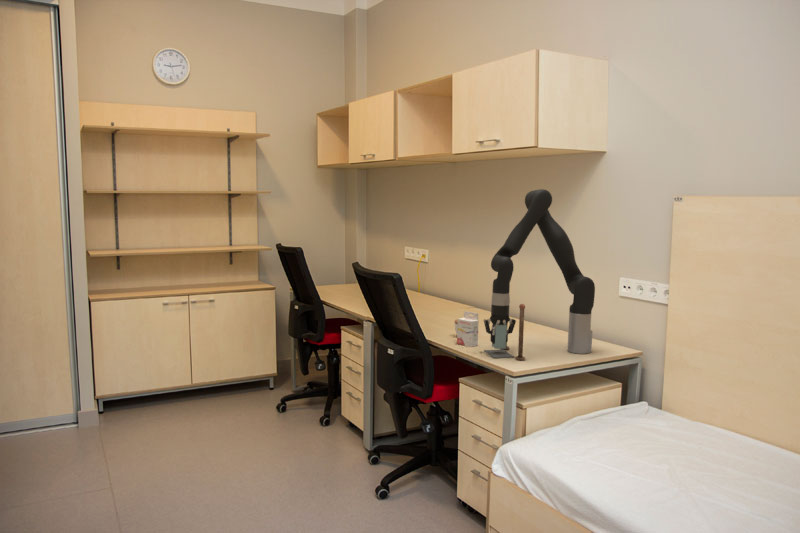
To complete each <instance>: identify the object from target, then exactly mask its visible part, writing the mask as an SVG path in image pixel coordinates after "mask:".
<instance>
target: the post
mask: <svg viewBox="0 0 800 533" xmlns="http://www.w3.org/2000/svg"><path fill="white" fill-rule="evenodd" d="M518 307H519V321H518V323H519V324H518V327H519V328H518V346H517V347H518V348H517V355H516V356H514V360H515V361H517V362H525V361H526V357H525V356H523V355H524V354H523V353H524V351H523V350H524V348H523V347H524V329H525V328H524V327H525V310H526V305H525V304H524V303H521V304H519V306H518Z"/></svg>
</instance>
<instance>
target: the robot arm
mask: <svg viewBox="0 0 800 533" xmlns="http://www.w3.org/2000/svg"><path fill="white" fill-rule="evenodd" d="M552 203H553V195H552V194H551V193H550V191H549V190H547V189H543V188H540V189H534V190H530V191H529V192H527V194H526V195H525V196H524V204H525V207H526V209H527V211H526V213H525V214H524V216H522V218H521V220H520V221H518V223H517V224H516V225H515V226H514V228H512V230H511V231H510V233H509V235H508V236H507V238H506V240H505V242H504V244H503V245H502V246H501V247H500V248H499V249H498V250H497V252H496V253H495V254H494V255H493V256H492V259H491V262H490V267H491V269H492V270H493V271H494V272H496V273H497V276H496V278H495V279H493V281H492V290H491V291H492V293H491V302H490V303H491V306H490V317H489V318H487V319H483V323H484V327H485V332H486V333H487V334H489V335H490V339H489V340H490V342H491V345H492V344H495V330H496V325H507V323H509V324H508V325H509V326H508V325H507V326H508V327H507V329H506V342H507V343H508V340H509V338H508V337H509V334H512V333H513V331H514V328H515V325H516V322H517V320H516V319H514V318H510V303H511V299H510V298H511V297H510V296H511V295H510V286H511V285H510V283H511V281H512V277H513V273H514V262H513V260H512V257H513V256H517V254H519V252H520V251H521V249H522V248H523V246H524V244H525V243H526V241H527V239H528V237H529V235H530V234H531V232H532V231H533V229H534V228H535V227H536V225H537V226H538V229H539V230H540V233H541V235H542V237H543V239H544V241H545V243H546V245H547V247H548V249H549V251H550V253H551V255H552V256H553V258H554V260H555V263H556V264H557V266H558V267H559V270H561V274H562V275H563V277H564V281H565V283H566V286H567V289H568V291H569V292H570V294H572V295H573V300H572V304H570V305H569V310H568V311H569V312H568V313H569V314H568V332H567V352H569V353H572V354H579V355H581V354H582V355H584V354H585V355H586V354H590V353H592V348H593V347H592V345H593V331H592V330H591V326H592V310H593V308H594V303H595V293H596V286H595V285H596V284H595V282H594V280H592V278H590V277H588V276H585V275H584V274H583V273H582V271H581V270H580V269H579V266H578V264H577V262H576V258H575V256H576V255H575V251H574V248H573V244H572V242H571V240H570V238H569V236H568V234H567V232H566V231H565V229H563V227H562V226H561V225H560V224H558V222H557V221H556V220H555V219H554V218H553V216H552V215H551V212H550V211H549V208H550V207H551V205H552ZM490 324H492V325H491V327H490ZM494 326H495V327H494Z"/></svg>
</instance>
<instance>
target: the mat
mask: <svg viewBox="0 0 800 533" xmlns="http://www.w3.org/2000/svg"><path fill="white" fill-rule="evenodd" d="M483 352H484V353H485V354H487V355H488V356H489V357H491V358H492V359H515V356H514V355H513V354H511V353H510V352H508V350H504V349H503V350H501V349H483Z"/></svg>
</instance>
